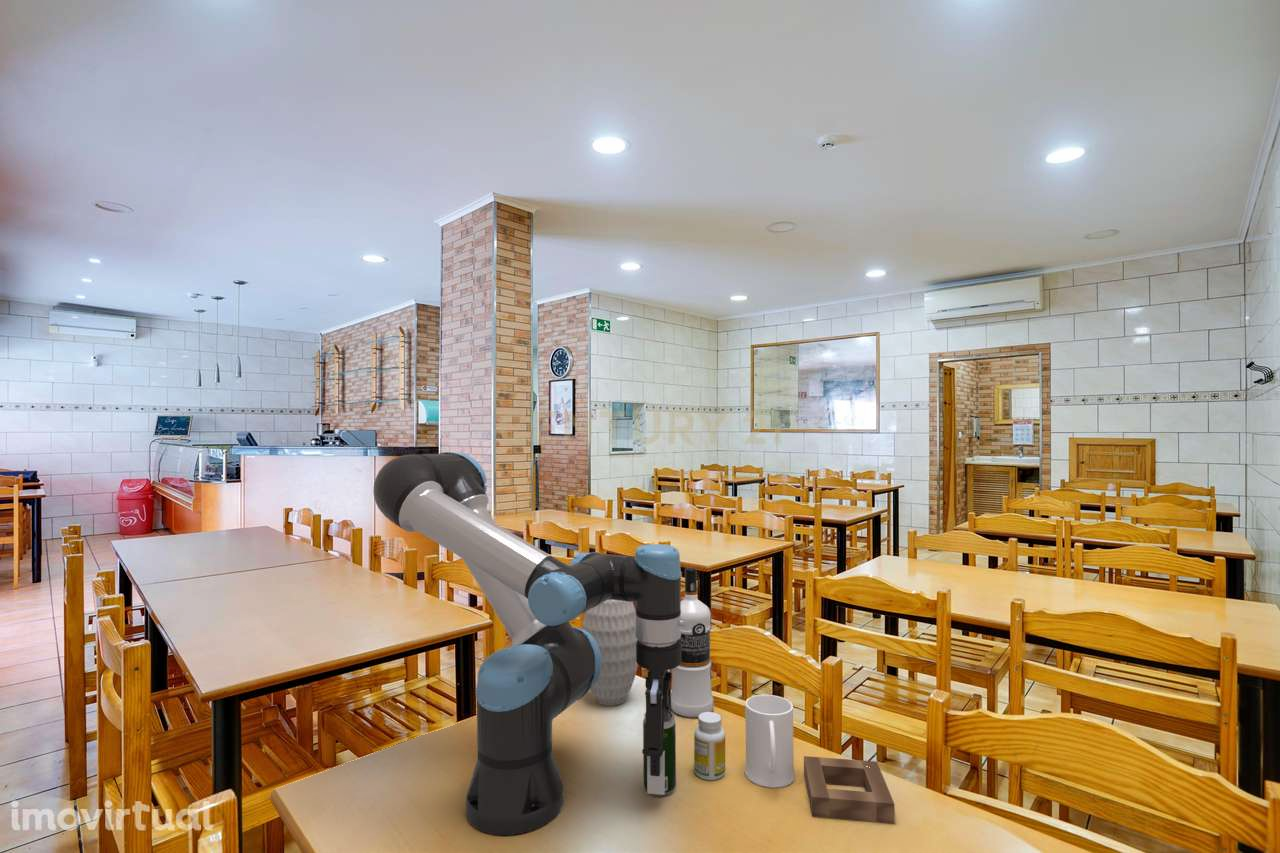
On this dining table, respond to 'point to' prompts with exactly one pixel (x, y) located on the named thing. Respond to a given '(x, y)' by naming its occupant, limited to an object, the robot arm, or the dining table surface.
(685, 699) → the vodka
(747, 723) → the mug
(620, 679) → the vase
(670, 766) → the beer can
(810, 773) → the holder
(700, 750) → the supplement bottle
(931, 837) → the dining table surface
